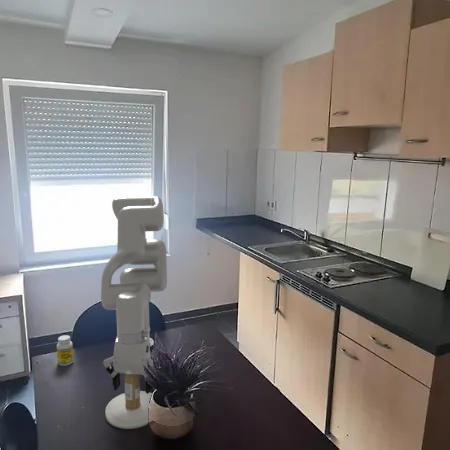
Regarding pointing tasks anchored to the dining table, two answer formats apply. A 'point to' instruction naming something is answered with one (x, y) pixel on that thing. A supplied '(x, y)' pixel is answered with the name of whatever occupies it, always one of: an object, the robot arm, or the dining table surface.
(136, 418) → the dish
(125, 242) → the robot arm
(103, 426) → the dining table surface
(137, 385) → the sprinkles bottle
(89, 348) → the dining table surface
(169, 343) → the dining table surface
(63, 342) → the supplement bottle
